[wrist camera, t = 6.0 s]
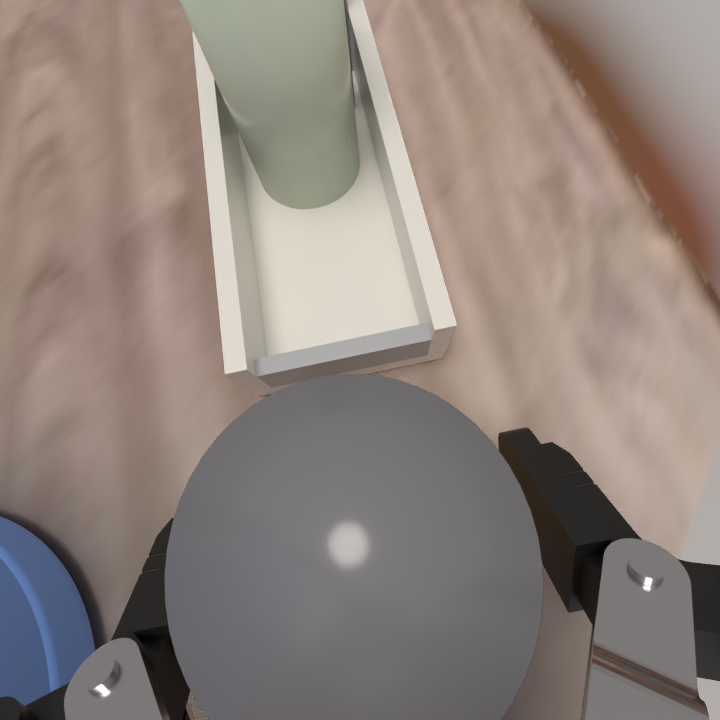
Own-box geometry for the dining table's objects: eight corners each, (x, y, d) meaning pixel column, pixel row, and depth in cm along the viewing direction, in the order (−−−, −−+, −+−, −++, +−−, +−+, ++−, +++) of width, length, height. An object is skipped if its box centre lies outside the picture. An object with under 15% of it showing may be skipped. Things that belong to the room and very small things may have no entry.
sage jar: (246, 206, 20) (78, -106, 9) (269, 121, 21) (148, -233, 11) (352, 215, 19) (304, -109, 8) (369, 127, 20) (345, -244, 10)
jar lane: (442, 358, 18) (474, 285, 11) (260, 396, 18) (182, 347, 11) (366, 75, 23) (355, -92, 16) (225, 106, 23) (157, -46, 16)
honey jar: (299, 563, 16) (114, 738, 5) (324, 429, 17) (217, 354, 7) (435, 590, 15) (536, 850, 5) (448, 448, 17) (547, 397, 6)
